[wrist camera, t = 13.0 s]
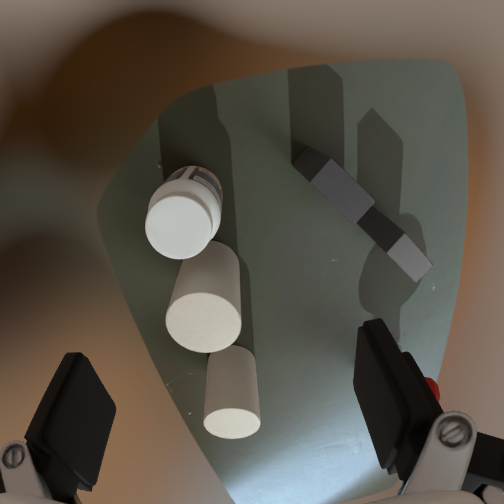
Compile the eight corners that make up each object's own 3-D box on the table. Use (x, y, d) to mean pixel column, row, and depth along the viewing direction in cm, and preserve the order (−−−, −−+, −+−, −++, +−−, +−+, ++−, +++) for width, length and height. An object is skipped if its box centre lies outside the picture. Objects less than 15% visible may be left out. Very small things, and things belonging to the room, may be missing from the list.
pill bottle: (170, 224, 32) (147, 271, 23) (160, 169, 29) (129, 194, 20) (226, 217, 32) (224, 262, 23) (219, 160, 29) (212, 182, 20)
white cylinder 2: (198, 364, 40) (192, 426, 31) (226, 337, 38) (225, 400, 29) (236, 383, 41) (237, 444, 32) (264, 358, 40) (272, 420, 31)
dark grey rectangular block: (354, 220, 33) (385, 253, 25) (369, 204, 32) (405, 232, 25) (383, 248, 34) (415, 283, 27) (397, 232, 33) (433, 264, 26)
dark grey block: (291, 164, 30) (309, 182, 23) (307, 145, 29) (331, 157, 22) (328, 196, 31) (355, 223, 24) (344, 179, 31) (375, 201, 23)
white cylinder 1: (171, 271, 34) (152, 328, 25) (204, 229, 32) (192, 277, 23) (216, 300, 36) (212, 363, 27) (251, 262, 34) (257, 319, 25)
